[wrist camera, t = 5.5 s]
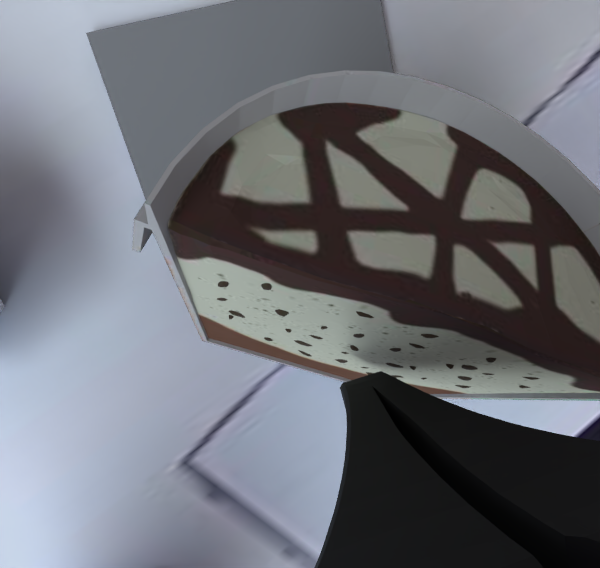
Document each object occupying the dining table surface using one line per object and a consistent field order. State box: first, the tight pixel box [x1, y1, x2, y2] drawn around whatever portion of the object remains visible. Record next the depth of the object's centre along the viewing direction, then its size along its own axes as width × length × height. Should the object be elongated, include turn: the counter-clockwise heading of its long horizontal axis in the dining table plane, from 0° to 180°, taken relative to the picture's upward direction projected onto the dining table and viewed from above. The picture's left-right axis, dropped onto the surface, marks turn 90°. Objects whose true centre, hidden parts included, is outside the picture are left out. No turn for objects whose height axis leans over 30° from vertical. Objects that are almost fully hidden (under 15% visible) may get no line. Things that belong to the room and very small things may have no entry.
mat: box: [86, 0, 393, 200], centre depth 15 cm, size 10×12×1 cm
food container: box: [132, 70, 600, 401], centre depth 12 cm, size 12×6×10 cm, turn 70°
